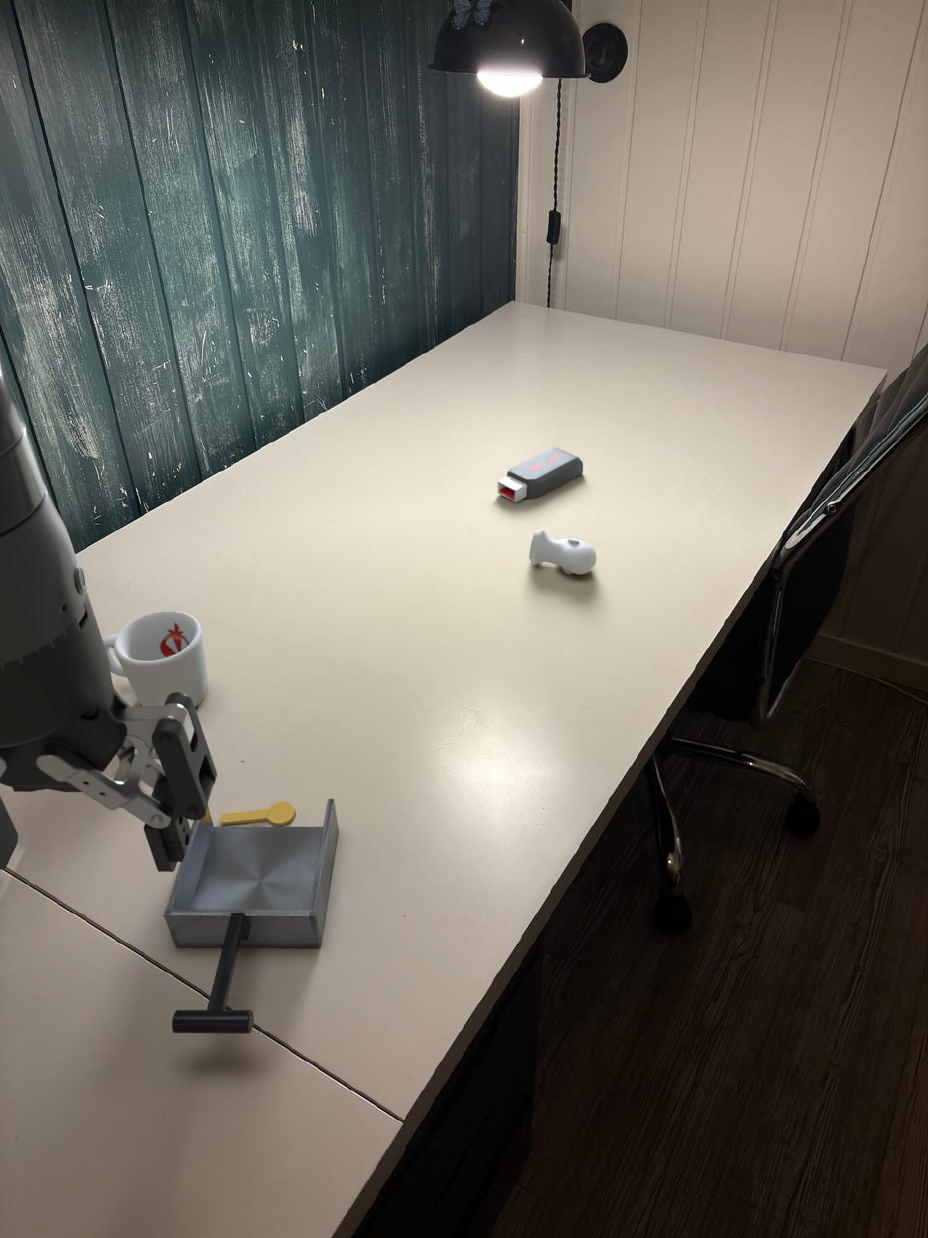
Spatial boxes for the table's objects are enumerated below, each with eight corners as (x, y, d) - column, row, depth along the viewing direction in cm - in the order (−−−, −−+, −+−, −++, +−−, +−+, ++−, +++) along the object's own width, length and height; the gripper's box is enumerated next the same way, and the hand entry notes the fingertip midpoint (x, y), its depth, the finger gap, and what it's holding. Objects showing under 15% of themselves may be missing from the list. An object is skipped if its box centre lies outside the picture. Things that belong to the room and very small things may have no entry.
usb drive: (583, 473, 123) (584, 455, 122) (521, 506, 117) (521, 488, 115) (554, 460, 126) (555, 442, 125) (492, 491, 120) (492, 473, 118)
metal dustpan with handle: (140, 1062, 62) (123, 1026, 59) (209, 830, 77) (198, 792, 75) (303, 1063, 62) (293, 1027, 59) (339, 830, 77) (333, 792, 74)
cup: (92, 715, 89) (68, 652, 84) (134, 662, 95) (114, 600, 90) (194, 732, 86) (176, 669, 81) (230, 677, 92) (215, 615, 87)
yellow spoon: (294, 821, 77) (294, 825, 78) (295, 800, 79) (295, 803, 80) (220, 829, 77) (220, 832, 77) (222, 807, 79) (223, 810, 79)
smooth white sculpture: (599, 574, 107) (583, 585, 103) (538, 554, 110) (520, 564, 106) (607, 540, 105) (591, 549, 101) (545, 520, 108) (527, 529, 104)
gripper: (-250, 665, 34) (-86, 920, 44) (135, 668, 34) (211, 923, 44) (-142, 550, 40) (-19, 798, 50) (186, 552, 39) (243, 801, 50)
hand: (88, 856), depth 47 cm, fingers open, 8 cm apart
